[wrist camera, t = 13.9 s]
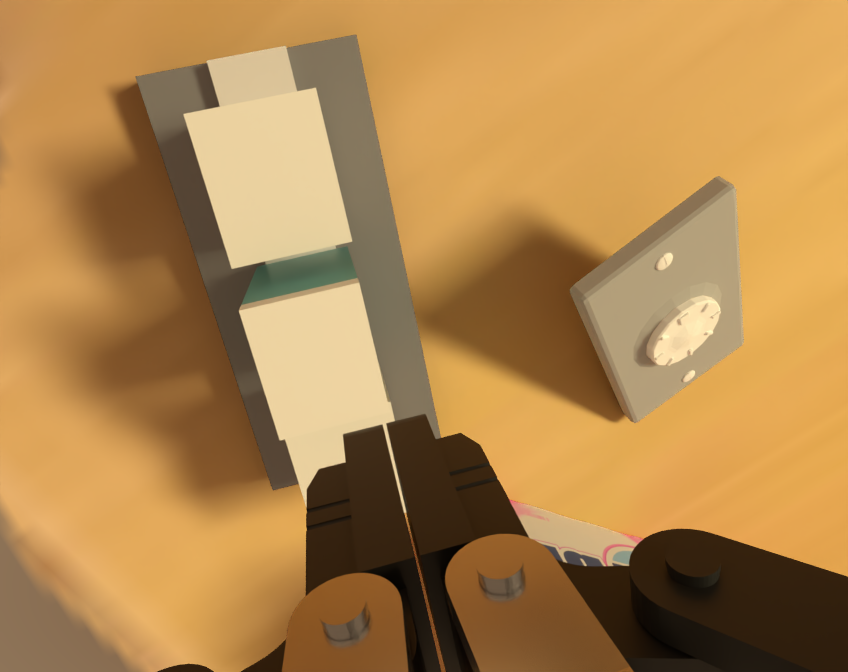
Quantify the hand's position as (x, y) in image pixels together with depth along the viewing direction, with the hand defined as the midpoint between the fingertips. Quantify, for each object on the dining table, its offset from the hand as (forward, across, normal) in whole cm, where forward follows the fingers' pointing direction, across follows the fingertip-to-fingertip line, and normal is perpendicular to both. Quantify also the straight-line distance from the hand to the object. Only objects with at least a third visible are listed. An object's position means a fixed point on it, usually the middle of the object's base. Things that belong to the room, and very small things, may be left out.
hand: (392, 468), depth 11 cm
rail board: (+23, +2, +2) cm, 23 cm away
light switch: (+23, -16, +7) cm, 29 cm away
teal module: (+20, +2, +3) cm, 21 cm away
